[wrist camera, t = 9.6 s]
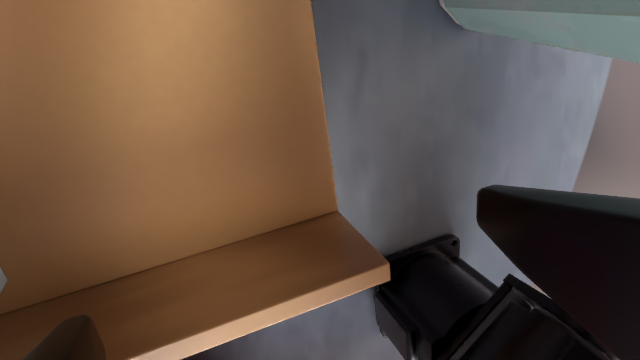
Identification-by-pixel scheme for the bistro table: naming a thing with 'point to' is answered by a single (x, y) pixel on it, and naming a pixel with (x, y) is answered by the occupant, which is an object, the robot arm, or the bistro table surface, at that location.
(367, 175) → the bistro table surface
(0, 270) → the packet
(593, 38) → the disposable coffee cup
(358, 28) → the bistro table surface
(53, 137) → the shelf
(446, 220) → the bistro table surface
